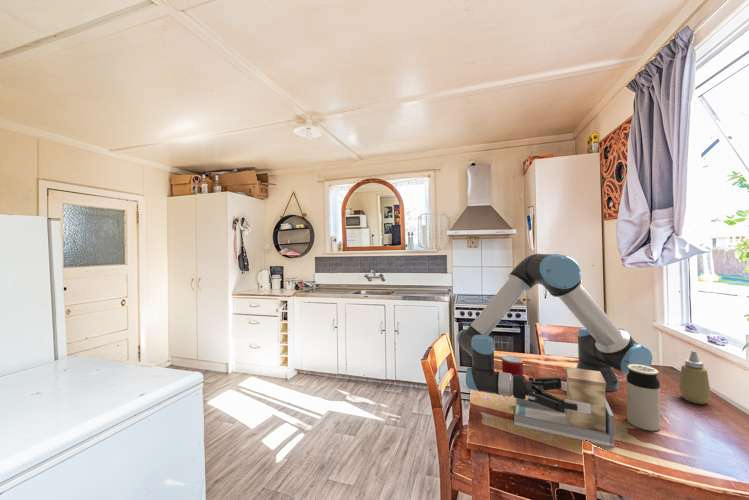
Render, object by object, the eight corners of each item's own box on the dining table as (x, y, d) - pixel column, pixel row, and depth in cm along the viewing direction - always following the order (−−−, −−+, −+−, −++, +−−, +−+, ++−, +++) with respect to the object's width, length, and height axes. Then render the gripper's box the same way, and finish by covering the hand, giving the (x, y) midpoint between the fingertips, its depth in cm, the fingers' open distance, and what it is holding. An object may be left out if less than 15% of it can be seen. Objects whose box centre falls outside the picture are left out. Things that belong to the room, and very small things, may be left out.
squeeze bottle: (703, 397, 115) (702, 349, 114) (716, 408, 107) (715, 356, 107) (674, 393, 118) (674, 346, 118) (685, 403, 111) (684, 353, 111)
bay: (604, 422, 100) (604, 394, 100) (614, 447, 88) (613, 415, 88) (516, 404, 112) (516, 380, 112) (514, 424, 100) (513, 397, 100)
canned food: (525, 389, 124) (525, 362, 124) (504, 388, 126) (504, 361, 125) (520, 381, 131) (520, 355, 131) (500, 380, 133) (500, 354, 133)
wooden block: (600, 421, 99) (600, 371, 99) (606, 437, 90) (606, 383, 90) (566, 414, 103) (565, 366, 103) (569, 429, 95) (568, 377, 95)
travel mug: (663, 434, 93) (662, 375, 93) (629, 427, 97) (628, 370, 97) (656, 421, 100) (656, 366, 100) (625, 415, 104) (624, 362, 104)
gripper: (515, 382, 117) (582, 393, 107) (510, 414, 95) (594, 432, 85) (514, 362, 117) (581, 371, 107) (510, 389, 95) (593, 405, 85)
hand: (587, 398), depth 96 cm, fingers open, 13 cm apart
